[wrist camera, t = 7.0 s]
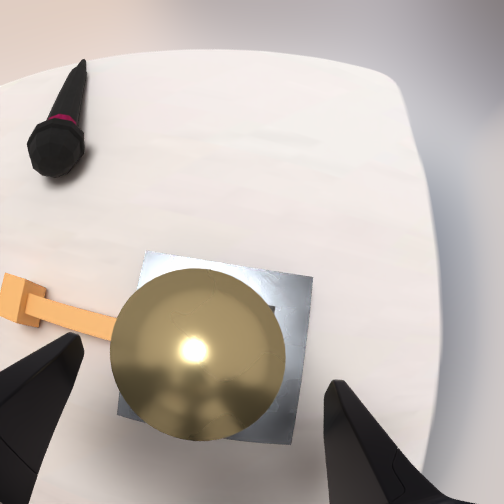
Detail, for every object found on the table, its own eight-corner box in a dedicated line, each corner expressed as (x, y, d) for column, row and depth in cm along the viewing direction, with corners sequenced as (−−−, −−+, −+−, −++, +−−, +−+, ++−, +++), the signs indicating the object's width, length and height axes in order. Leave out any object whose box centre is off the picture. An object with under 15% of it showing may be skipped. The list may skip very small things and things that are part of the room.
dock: (284, 435, 18) (290, 444, 16) (127, 409, 18) (117, 414, 16) (304, 284, 21) (312, 277, 19) (153, 260, 21) (146, 250, 19)
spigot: (244, 389, 19) (271, 451, 7) (177, 378, 19) (101, 417, 6) (254, 323, 20) (295, 282, 8) (187, 313, 20) (129, 255, 8)
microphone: (79, 85, 31) (52, 198, 23) (56, 58, 26) (9, 167, 18) (111, 64, 30) (94, 171, 22) (89, 35, 25) (50, 131, 17)
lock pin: (140, 359, 19) (125, 360, 16) (18, 319, 18) (-5, 314, 15) (147, 313, 20) (135, 307, 17) (25, 282, 19) (4, 272, 16)
